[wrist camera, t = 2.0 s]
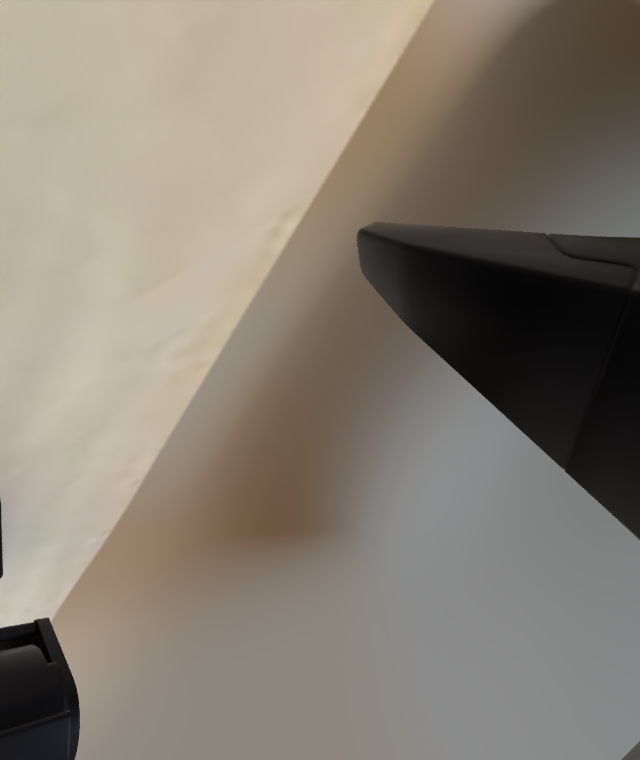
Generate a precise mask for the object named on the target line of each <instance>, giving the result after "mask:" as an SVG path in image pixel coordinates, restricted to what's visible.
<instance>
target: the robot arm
mask: <svg viewBox="0 0 640 760" xmlns="http://www.w3.org/2000/svg"><path fill="white" fill-rule="evenodd" d="M357 246H358V253H359V261H360V267H361V270H362V273H363V274H364V276H365V278H366V279H367V280H368V281H369V282H370V284H371V285H372V286H373V287H374V288H375V289H376V291H377V292H378V293H379V294H380V295H381V296H382V298H383V299H384V300H385V301H386V302H387V303H388V305H389V306H390V307H391V308H392V309H393V310H394V312H395V313H396V314H397V315H398V316H399V317H400V319H401V320H402V321H403V322H404V323H405V324H406V325H407V326H408V327H409V328H410V329H411V330H412V331H413V332H414V333H415V334H416V335H418V336H419V337H420V338H421V339H422V340H423V341H424V342H425V343H426V344H427V345H428V346H430V347H431V348H432V349H433V350H434V351H435V352H436V353H437V354H438V355H439V356H440V357H441V358H443V359H444V360H445V361H446V362H447V363H448V364H449V365H450V366H451V367H452V368H453V369H455V370H456V371H457V372H458V373H459V374H460V375H461V376H462V377H463V378H464V379H465V380H467V381H468V382H469V383H470V384H471V385H472V386H473V387H474V388H475V389H476V390H477V391H479V392H480V393H481V394H482V395H483V396H484V397H485V398H486V399H488V401H489V402H491V403H492V404H493V405H494V406H495V407H496V408H497V409H498V410H499V411H500V412H502V413H503V414H504V415H505V416H506V417H507V418H508V419H509V420H510V421H511V422H512V423H513V424H514V425H516V426H517V427H518V428H519V429H520V430H521V431H522V432H523V433H524V434H525V435H527V436H528V437H529V438H530V439H531V440H532V441H533V442H534V443H535V444H536V445H537V446H539V447H540V448H541V449H542V450H543V451H544V452H545V453H546V454H547V455H548V456H549V457H551V458H552V459H553V460H554V461H555V462H556V463H557V464H558V465H559V466H560V467H561V468H563V469H565V472H566V473H567V474H569V475H570V476H571V477H572V478H573V479H574V480H575V481H576V482H577V483H578V484H579V485H581V486H582V487H583V488H584V489H585V490H586V491H587V492H588V493H589V494H590V495H591V496H593V497H594V498H595V499H596V500H597V501H598V502H599V503H600V504H601V505H602V506H604V507H605V508H606V509H607V510H608V511H609V512H610V513H612V515H613V516H614V517H615V518H617V519H618V520H619V521H620V522H621V523H622V524H623V525H625V527H626V528H628V529H629V530H630V531H631V532H632V533H633V534H634V535H635V536H636V537H637V538H639V540H640V238H626V237H596V236H577V235H561V234H549V235H548V236H547V235H546V234H544V233H531V232H515V231H502V230H488V229H472V228H457V227H443V226H430V225H415V224H400V223H386V222H374V223H371V224H369V225H367V226H365V227H363V228H361V229H360V230H359V231H358V232H357ZM2 575H3V563H2V528H1V501H0V578H1V577H2ZM79 729H80V711H79V699H78V694H77V688H76V685H75V682H74V679H73V676H72V674H71V671H70V669H69V667H68V664H67V661H66V659H65V657H64V654H63V652H62V649H61V647H60V644H59V642H58V639H57V637H56V634H55V632H54V630H53V627H52V625H51V622H50V620H49V618H43V619H37V620H34V622H32V623H26V624H20V625H15V626H9V627H3V628H0V760H74V759H75V756H76V752H77V746H78V740H79ZM622 760H640V742H639V743H638V744H637V745H636V746H635V747H634V748H633V749H632V750H631V751H630V752H629V753H628V754H627V755H626V756H625V757H624V758H623V759H622Z"/></svg>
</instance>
